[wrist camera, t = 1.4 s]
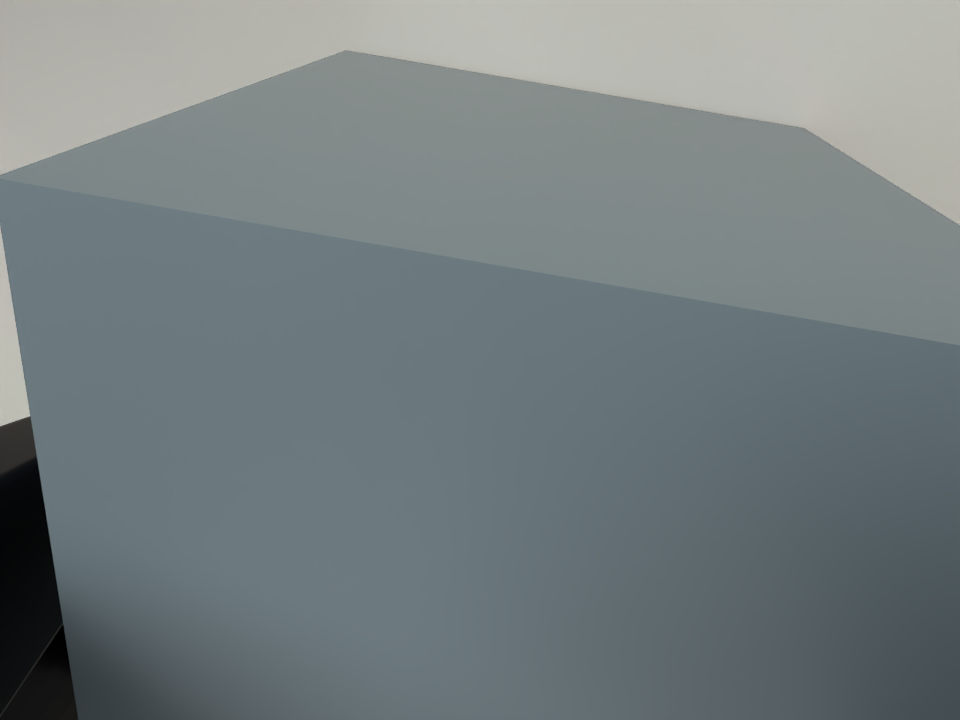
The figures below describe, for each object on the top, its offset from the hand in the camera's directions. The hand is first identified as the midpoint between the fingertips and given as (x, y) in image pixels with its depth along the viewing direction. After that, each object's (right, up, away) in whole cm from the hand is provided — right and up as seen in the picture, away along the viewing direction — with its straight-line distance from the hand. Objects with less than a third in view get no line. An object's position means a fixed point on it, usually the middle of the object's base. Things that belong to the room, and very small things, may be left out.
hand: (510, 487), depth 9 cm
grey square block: (+1, +3, +5) cm, 6 cm away
